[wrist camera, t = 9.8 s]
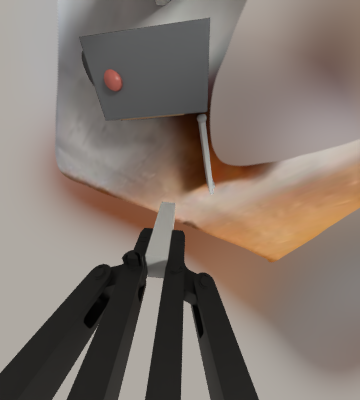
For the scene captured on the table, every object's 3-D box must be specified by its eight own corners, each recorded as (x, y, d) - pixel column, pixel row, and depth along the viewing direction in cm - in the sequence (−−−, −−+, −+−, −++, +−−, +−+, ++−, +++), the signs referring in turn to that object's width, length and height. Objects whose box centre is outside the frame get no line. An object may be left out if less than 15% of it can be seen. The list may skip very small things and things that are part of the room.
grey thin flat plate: (196, 115, 30) (198, 115, 24) (203, 113, 30) (208, 112, 24) (205, 182, 39) (209, 194, 33) (211, 181, 38) (216, 193, 32)
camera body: (203, 47, 24) (211, 11, 16) (202, 113, 30) (207, 112, 21) (101, 60, 26) (60, 34, 18) (118, 120, 32) (92, 122, 23)
